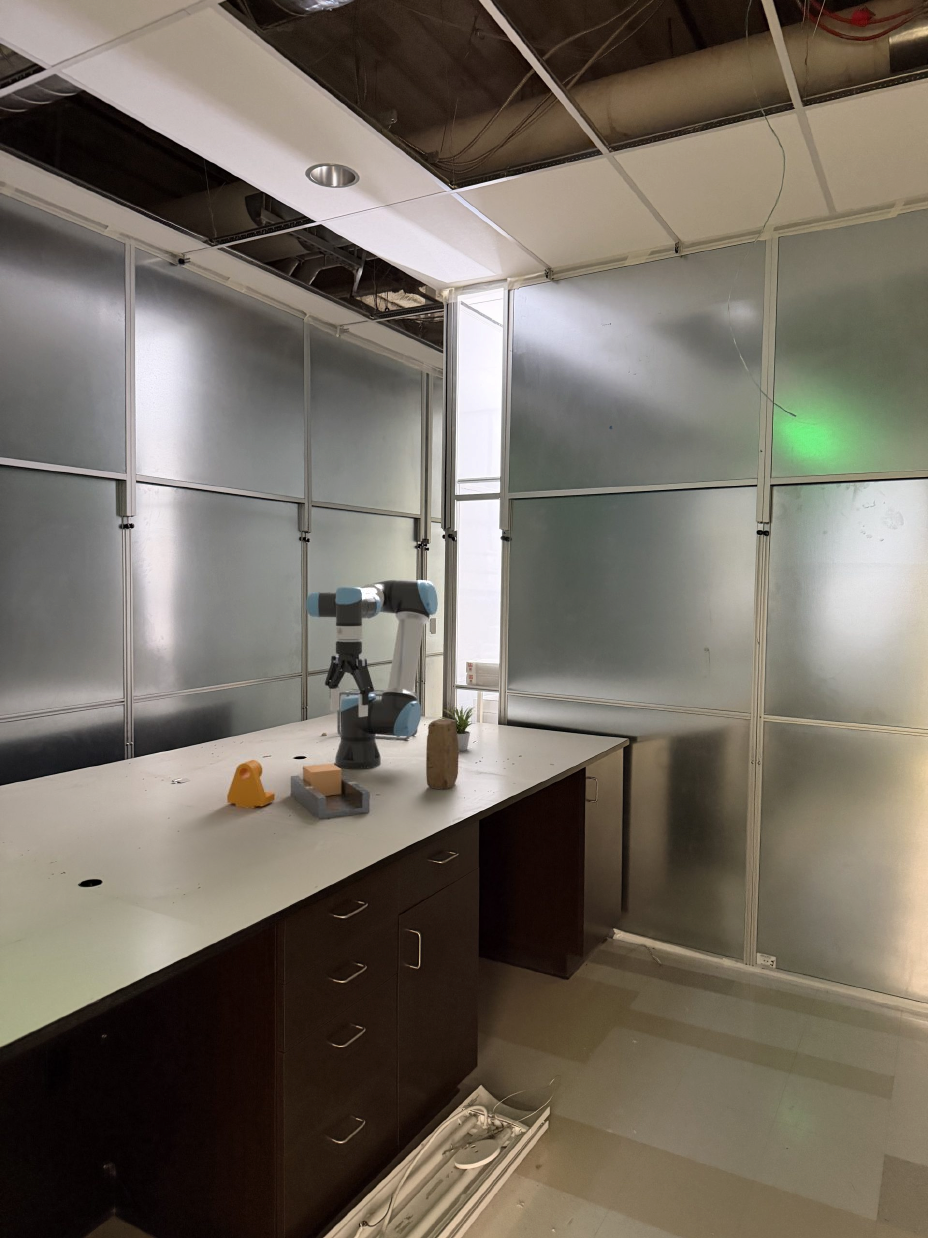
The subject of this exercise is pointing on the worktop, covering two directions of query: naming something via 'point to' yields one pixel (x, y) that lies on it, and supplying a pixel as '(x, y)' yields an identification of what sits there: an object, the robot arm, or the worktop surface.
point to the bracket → (249, 787)
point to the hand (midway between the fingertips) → (348, 713)
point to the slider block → (323, 778)
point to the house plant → (462, 727)
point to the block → (442, 754)
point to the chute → (331, 798)
